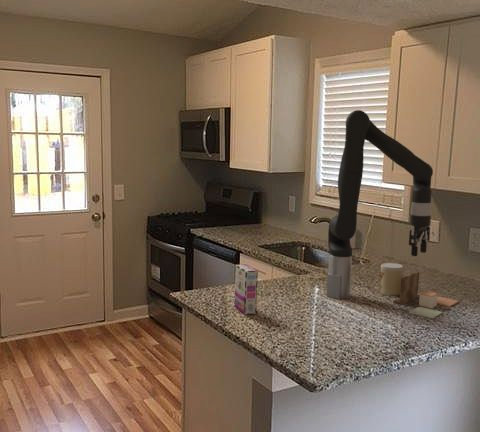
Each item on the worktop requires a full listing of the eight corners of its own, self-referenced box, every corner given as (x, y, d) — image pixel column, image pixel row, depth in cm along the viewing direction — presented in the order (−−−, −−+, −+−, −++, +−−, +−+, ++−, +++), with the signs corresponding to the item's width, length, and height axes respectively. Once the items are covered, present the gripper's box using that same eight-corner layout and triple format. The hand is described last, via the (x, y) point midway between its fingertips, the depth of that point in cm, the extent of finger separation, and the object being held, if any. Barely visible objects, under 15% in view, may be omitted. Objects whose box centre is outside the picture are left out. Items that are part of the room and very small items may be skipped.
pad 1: (432, 318, 190) (432, 317, 189) (409, 312, 196) (409, 311, 195) (442, 313, 196) (442, 312, 196) (419, 307, 202) (419, 306, 202)
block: (431, 308, 202) (432, 295, 201) (419, 305, 205) (419, 293, 205) (436, 305, 206) (437, 293, 205) (424, 302, 209) (425, 290, 208)
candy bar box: (257, 314, 190) (258, 270, 188) (244, 315, 188) (245, 271, 186) (246, 305, 200) (247, 263, 198) (233, 306, 199) (234, 264, 196)
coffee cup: (382, 288, 228) (384, 261, 226) (404, 292, 223) (406, 264, 221) (376, 293, 220) (377, 265, 218) (398, 297, 215) (400, 269, 213)
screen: (402, 304, 205) (404, 277, 204) (392, 302, 208) (394, 275, 206) (417, 297, 215) (419, 271, 214) (408, 295, 218) (410, 269, 217)
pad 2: (450, 306, 204) (450, 305, 204) (427, 301, 210) (427, 300, 210) (458, 302, 211) (458, 300, 211) (436, 297, 217) (436, 296, 217)
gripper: (422, 216, 197) (420, 258, 199) (437, 212, 207) (435, 252, 209) (403, 214, 201) (401, 255, 204) (419, 210, 212) (417, 250, 214)
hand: (418, 254), depth 207 cm, fingers open, 8 cm apart
